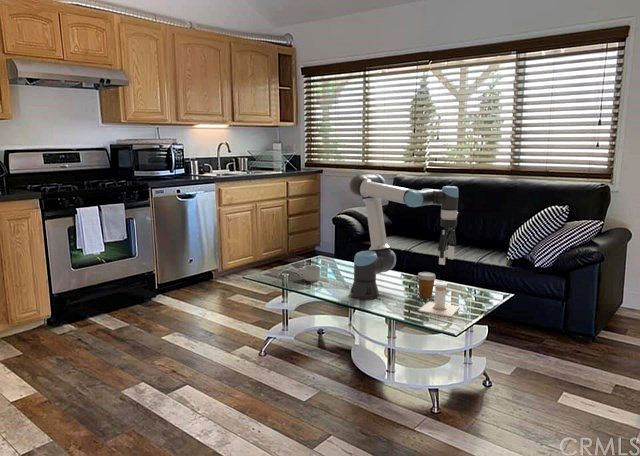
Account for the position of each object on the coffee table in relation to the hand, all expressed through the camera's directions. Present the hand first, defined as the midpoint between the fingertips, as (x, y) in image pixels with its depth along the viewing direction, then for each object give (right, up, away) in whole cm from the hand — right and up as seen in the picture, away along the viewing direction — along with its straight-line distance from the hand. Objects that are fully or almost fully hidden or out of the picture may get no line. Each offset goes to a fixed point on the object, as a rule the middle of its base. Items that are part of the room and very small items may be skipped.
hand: (446, 261), depth 240 cm
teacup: (-68, -15, +52) cm, 87 cm away
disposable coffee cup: (-5, -20, +23) cm, 31 cm away
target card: (-3, -24, +1) cm, 24 cm away
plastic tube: (-3, -23, +1) cm, 23 cm away
